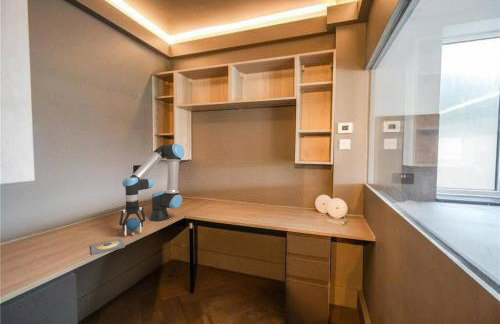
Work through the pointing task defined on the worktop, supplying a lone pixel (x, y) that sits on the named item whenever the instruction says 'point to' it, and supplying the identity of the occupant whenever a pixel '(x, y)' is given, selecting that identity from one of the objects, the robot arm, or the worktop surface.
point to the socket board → (107, 246)
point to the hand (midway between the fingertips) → (133, 233)
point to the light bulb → (132, 225)
